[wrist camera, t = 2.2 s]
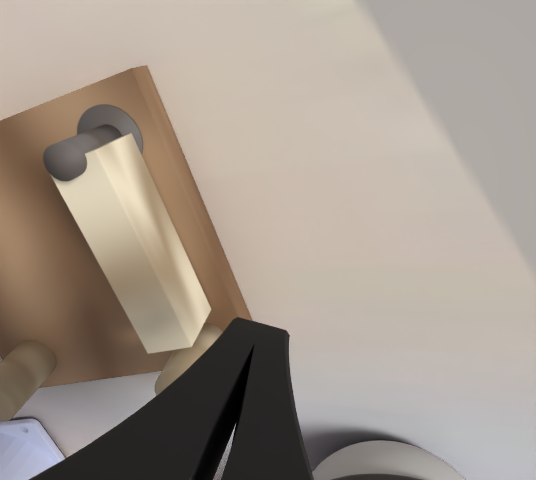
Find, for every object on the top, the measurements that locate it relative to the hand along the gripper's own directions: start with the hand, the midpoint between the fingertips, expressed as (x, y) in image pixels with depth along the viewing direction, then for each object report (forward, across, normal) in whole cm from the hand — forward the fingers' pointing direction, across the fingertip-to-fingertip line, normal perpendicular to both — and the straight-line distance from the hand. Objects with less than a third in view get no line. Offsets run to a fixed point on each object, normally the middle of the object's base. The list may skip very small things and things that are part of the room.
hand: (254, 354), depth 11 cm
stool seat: (+8, +10, +4) cm, 13 cm away
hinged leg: (+7, +6, +1) cm, 9 cm away
